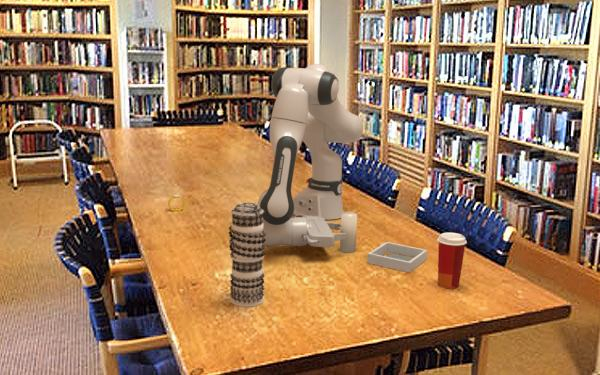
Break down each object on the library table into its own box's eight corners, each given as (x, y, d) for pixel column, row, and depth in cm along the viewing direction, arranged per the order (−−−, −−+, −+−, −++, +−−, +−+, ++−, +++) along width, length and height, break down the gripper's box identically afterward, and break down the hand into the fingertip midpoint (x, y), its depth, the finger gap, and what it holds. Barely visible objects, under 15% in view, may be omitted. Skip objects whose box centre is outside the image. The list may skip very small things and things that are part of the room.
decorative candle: (221, 299, 158) (220, 204, 152) (249, 289, 165) (249, 198, 159) (244, 310, 152) (244, 212, 146) (272, 300, 158) (273, 205, 152)
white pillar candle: (337, 250, 196) (338, 214, 194) (344, 246, 201) (346, 210, 198) (351, 254, 194) (352, 217, 191) (358, 249, 198) (360, 213, 195)
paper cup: (458, 279, 175) (462, 232, 172) (466, 290, 168) (470, 240, 164) (430, 279, 175) (434, 231, 172) (437, 290, 167) (441, 240, 164)
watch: (169, 212, 235) (168, 196, 234) (167, 210, 237) (167, 195, 236) (185, 210, 237) (184, 195, 236) (183, 209, 240) (183, 194, 238)
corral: (367, 263, 186) (367, 253, 186) (386, 250, 198) (386, 241, 197) (409, 272, 179) (410, 262, 179) (426, 259, 191) (427, 250, 190)
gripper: (304, 232, 183) (350, 231, 185) (296, 213, 203) (337, 212, 204) (304, 252, 184) (350, 251, 186) (295, 231, 204) (337, 230, 206)
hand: (343, 230), depth 196 cm, fingers open, 8 cm apart
